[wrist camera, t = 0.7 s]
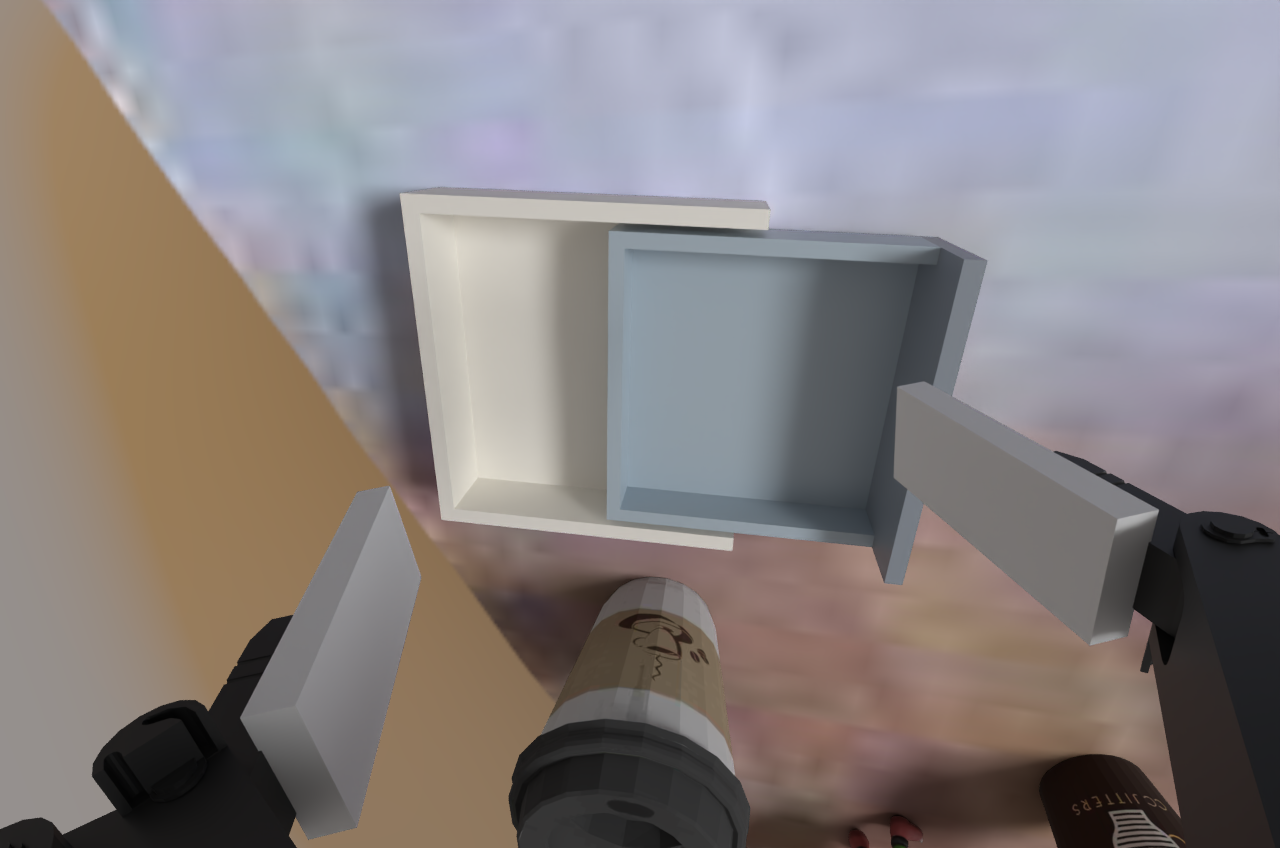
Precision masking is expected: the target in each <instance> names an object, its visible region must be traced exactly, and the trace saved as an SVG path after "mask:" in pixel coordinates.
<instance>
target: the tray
mask: <svg viewBox="0 0 1280 848" xmlns="http://www.w3.org/2000/svg"><path fill="white" fill-rule="evenodd" d="M986 265H987V260H985V259H983V258H981V257H979V256H977V255H975V254H972V253H970V252H968V251H966V250H964V249H962V248H960V247H958V246H956V245H953V244H951V243H949V242H947V241H945V240H943V239H941V238H939V237H923V236H902V235H881V234H860V233H839V232H818V231H797V230H776V229H768V230H757V229H736V228H715V227H694V226H673V225H653V224H632V223H619V224H618V225H616V226H615V227H614V228H612V229H611V230H609V257H608V400H607V520H616V521H626V522H636V523H645V524H655V525H665V526H674V527H684V528H693V529H703V530H713V531H722V532H732V533H741V534H751V535H761V536H770V537H780V538H789V539H799V540H809V541H818V542H828V543H838V544H847V545H857V546H866V547H872V548H873V551H874V554H875V557H876V560H877V563H878V566H879V569H880V572H881V575H882V578H883V581H884V583H888V584H897V585H902V584H903V580H904V576H905V573H906V569H907V565H908V561H909V557H910V554H911V550H912V546H913V542H914V538H915V535H916V531H917V527H918V523H919V519H920V516H921V512H922V508H923V504H924V503H923V502H922V501H920V500H919V499H918V498H917V497H916V496H915V495H913V494H912V493H911V492H910V491H909V490H908V489H906V488H905V487H904V486H903V485H902V484H901V483H899V482H898V481H897V480H896V479H895V478H894V454H895V429H896V405H897V386H903V385H908V384H913V383H918V382H923V381H925V382H927V383H928V384H930V385H932V386H934V387H936V388H938V389H939V390H941V391H943V392H945V393H947V394H949V395H950V396H952V394H953V390H954V386H955V382H956V379H957V375H958V371H959V367H960V363H961V360H962V356H963V352H964V348H965V344H966V341H967V337H968V333H969V329H970V325H971V322H972V318H973V314H974V310H975V306H976V303H977V299H978V295H979V291H980V287H981V284H982V280H983V276H984V272H985V268H986Z"/></svg>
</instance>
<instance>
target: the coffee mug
mask: <svg viewBox="0 0 1280 848" xmlns="http://www.w3.org/2000/svg"><path fill="white" fill-rule="evenodd" d="M1039 792H1040V796H1041V799H1042V802H1043V805H1044V808H1045V811H1046V814H1047V817H1048V820H1049V823H1050V826H1051V829H1052V832H1053V835H1054V838H1055V841H1056V844H1057V847H1058V848H1186V844H1185V838H1184V833H1183V827H1182V822H1181V819H1180V817H1179V816H1178V815H1177V814H1176V812H1175V811H1174V810H1173V809H1172V807H1171V806H1170V805H1169V804H1168V802H1167V801H1166V800H1165V799H1164V798H1163V796H1162V795H1161V794H1160V793H1159V791H1158V790H1157V789H1156V788H1155V786H1154V785H1153V784H1152V783H1151V781H1150V780H1149V779H1148V778H1147V777H1146V775H1145V774H1144V773H1143V772H1142V771H1141V770H1140V769H1139V767H1138V766H1136V765H1135V764H1133V763H1132V762H1130V761H1127V760H1125V759H1123V758H1119V757H1115V756H1110V755H1085V756H1079V757H1075V758H1071V759H1068V760H1066V761H1063V762H1061V763H1059V764H1057V765H1056V766H1054V767H1052V768H1051V769H1050V770H1049V771H1048V772H1047V773H1046V774H1045V775H1044V777H1043V778H1042V780H1041V783H1040V787H1039Z"/></svg>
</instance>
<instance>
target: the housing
mask: <svg viewBox="0 0 1280 848" xmlns="http://www.w3.org/2000/svg"><path fill="white" fill-rule="evenodd" d="M400 199H401V207H402V215H403V223H404V231H405V238H406V246H407V254H408V262H409V270H410V277H411V285H412V293H413V301H414V309H415V316H416V324H417V332H418V340H419V348H420V355H421V363H422V371H423V379H424V387H425V394H426V402H427V410H428V418H429V426H430V433H431V441H432V449H433V457H434V465H435V472H436V480H437V488H438V496H439V504H440V511H441V519H442V520H449V521H458V522H467V523H477V524H486V525H495V526H504V527H514V528H523V529H532V530H542V531H551V532H560V533H570V534H579V535H588V536H598V537H607V538H616V539H625V540H635V541H644V542H653V543H663V544H672V545H681V546H691V547H700V548H709V549H719V550H728V551H732V548H733V539H734V533H732V532H722V531H713V530H703V529H693V528H684V527H674V526H665V525H655V524H645V523H636V522H626V521H616V520H607V400H608V257H609V230H611V229H612V228H614V227H615V226H616V225H618V224H619V223H632V224H653V225H673V226H694V227H715V228H736V229H757V230H768V228H769V219H770V208H769V206H768V204H767V202H766V201H753V200H730V199H706V198H683V197H659V196H636V195H612V194H589V193H565V192H542V191H518V190H495V189H471V188H448V187H437V188H431V189H424V190H418V191H411V192H405V193H400Z"/></svg>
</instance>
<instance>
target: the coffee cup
mask: <svg viewBox="0 0 1280 848" xmlns="http://www.w3.org/2000/svg"><path fill="white" fill-rule="evenodd" d="M512 783H513V785H512V787H511V791H510V793H509V804H510V811H511V817H512V823H513V825H514V827H515V828H516V830H517V842H518V848H746V838H747V834H748V828H749V817H750V806H749V803H748V801H747V798H746V796H745V793H744V791H743V788H742V785H741V783H740V781H739V780H738V779H737V778H736V777H735V771H734V764H733V756H732V749H731V741H730V734H729V726H728V719H727V711H726V704H725V696H724V689H723V681H722V674H721V666H720V658H719V651H718V643H717V636H716V629H715V626H714V623H713V620H712V618H711V615H710V613H709V610H708V607H707V605H706V604H705V602H704V601H703V600H702V599H701V598H700V596H699V595H698V594H697V593H696V592H694V591H693V590H691V589H690V588H688V587H687V586H685V585H684V584H682V583H679V582H676V581H673V580H670V579H667V578H657V577H646V578H641V579H635V580H632V581H630V582H628V583H626V584H624V585H622V586H620V587H619V588H618V589H617V590H616V591H615V592H614V593H613V595H612V596H611V597H610V598H609V600H608V601H607V602H606V603H605V604H604V605H603V607H602V609H601V611H600V613H599V615H598V617H597V619H596V621H595V624H594V626H593V628H592V630H591V632H590V634H589V636H588V638H587V640H586V642H585V644H584V646H583V648H582V651H581V653H580V655H579V657H578V659H577V661H576V663H575V665H574V667H573V669H572V671H571V673H570V675H569V678H568V680H567V682H566V684H565V686H564V688H563V690H562V692H561V694H560V696H559V698H558V700H557V702H556V704H555V707H554V709H553V711H552V713H551V715H550V717H549V719H548V721H547V723H546V725H545V727H544V729H543V732H542V734H541V735H540V736H538V737H537V738H536V739H535V740H534V741H533V742H532V743H531V744H530V745H529V746H528V747H527V748H526V749H525V750H524V751H523V752H522V753H521V754H520V755H519V758H518V761H517V764H516V767H515V770H514V773H513V776H512Z"/></svg>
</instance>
